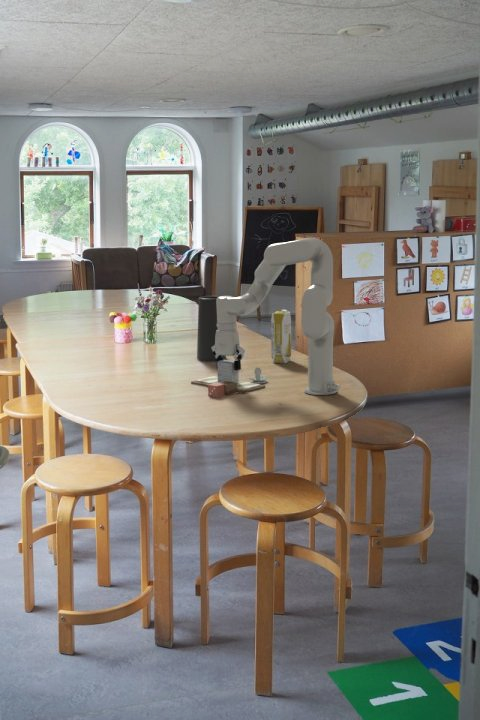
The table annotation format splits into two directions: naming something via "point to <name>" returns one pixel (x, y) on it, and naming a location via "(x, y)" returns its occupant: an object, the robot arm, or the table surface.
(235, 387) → the stand
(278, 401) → the table surface
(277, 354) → the juice carton
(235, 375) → the medicine box
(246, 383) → the board
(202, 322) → the dark tapered cylinder
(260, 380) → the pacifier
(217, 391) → the die
